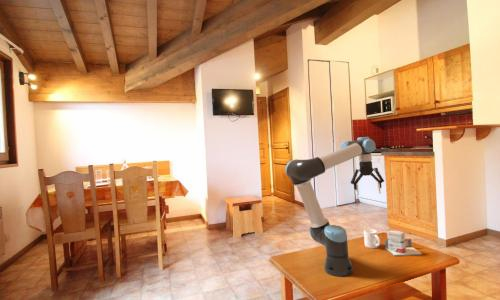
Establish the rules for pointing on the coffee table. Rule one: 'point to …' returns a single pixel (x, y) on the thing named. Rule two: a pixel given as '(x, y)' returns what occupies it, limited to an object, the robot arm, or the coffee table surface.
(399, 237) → the ink box
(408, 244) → the laptop
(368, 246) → the mug
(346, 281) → the coffee table surface
